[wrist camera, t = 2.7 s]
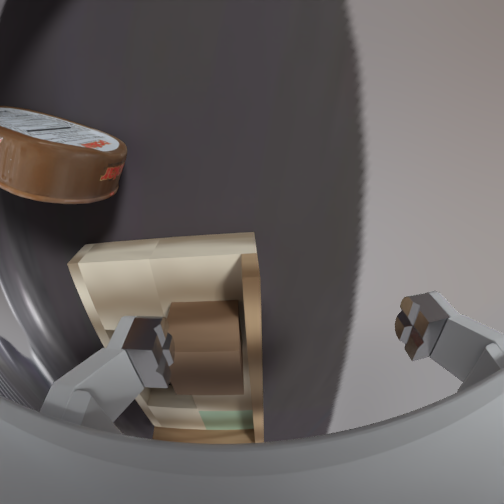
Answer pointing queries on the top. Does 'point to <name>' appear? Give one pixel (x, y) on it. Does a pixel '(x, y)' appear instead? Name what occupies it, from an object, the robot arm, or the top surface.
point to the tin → (57, 158)
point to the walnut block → (206, 348)
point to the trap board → (158, 304)
